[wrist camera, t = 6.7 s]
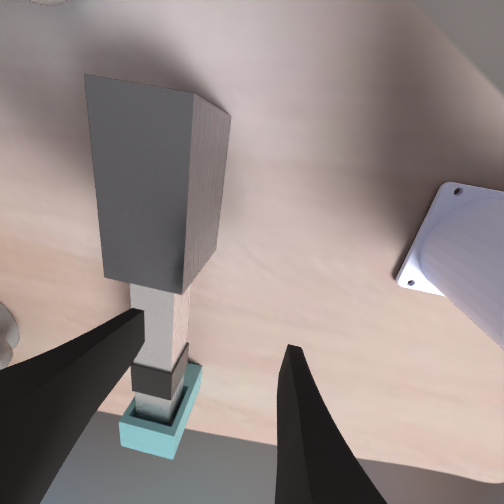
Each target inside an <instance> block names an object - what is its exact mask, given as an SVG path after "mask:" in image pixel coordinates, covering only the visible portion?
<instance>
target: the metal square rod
mask: <svg viewBox="0 0 504 504" xmlns="http://www.w3.org/2000/svg"><path fill="white" fill-rule="evenodd" d="M190 291H191V284H190V285H189V287H188V288H187V289H186V291H185V292H184V293H183V295H179V294H175V293H170V292H166V291H162V290H157V289H153V288H149V287H144V286H140V285H135V284H131V283H130V300H131V308H136V309H140V310H144V320H145V342H144V344H143V346H142V348H141V349H140V351H139V353H138V355H137V356H136V358H135V359H134V361H133V362H132V364H131V380H132V391H135V400H136V418H139V419H142V420H146V421H150V422H154V423H158V424H161V425H165V426H169V427H172V425H173V423H174V420H175V418H176V415H177V413H178V411H179V408H180V406H181V404H182V399H183V386H184V372H185V370H186V368H187V361H188V348H189V343H188V342H187V332H188V318H189V305H190Z"/></svg>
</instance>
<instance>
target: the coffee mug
mask: <svg viewBox="0 0 504 504" xmlns="http://www.w3.org/2000/svg"><path fill="white" fill-rule="evenodd" d="M18 342H19V329H18V326H17V324H16V321H15V320H14V318H13V316H12V315H11V313H10V312H9V311H8V310H7V308H6V307H5V306H4V305H3V304H2V303H1V302H0V370H1V369H4V368H6V367H7V366H8V364H9V363H10V361H11V359H12V356H13V352H12V349H13V348H14V347H15V346H16V345H17V344H18Z"/></svg>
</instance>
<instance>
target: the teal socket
mask: <svg viewBox="0 0 504 504" xmlns="http://www.w3.org/2000/svg"><path fill="white" fill-rule="evenodd" d="M201 373H202V366H200V365H196V364H192V363H188V362H187V368H186V370H185V372H184V386H183V399H182V404H181V406H180V408H179V411H178V413H177V415H176V418H175V420H174V423H173V425H172V427H169V426H165V425H161V424H158V423H154V422H150V421H146V420H142V419H139V418H136V400H135V397H134V398H133V400H132V401H131V403H130V405H129V406H128V408H127V409H126V411H125V413H124V414H123V416H122V417H121V419H120V421H119V428H120V439H121V446H124V447H128V448H131V449H135V450H139V451H142V452H146V453H150V454H154V455H157V456H161V457H164V458H168V459H172V460H173V458H174V455H175V452H176V450H177V447H178V444H179V441H180V439H181V436H182V434H183V431H184V428H185V426H186V423H187V420H188V418H189V415H190V412H191V410H192V407H193V404H194V402H195V399H196V396H197V394H198V391H199V388H200V382H201Z"/></svg>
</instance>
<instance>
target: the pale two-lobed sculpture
mask: <svg viewBox="0 0 504 504" xmlns="http://www.w3.org/2000/svg"><path fill="white" fill-rule="evenodd" d="M30 1H32V2H35V3H38V4H42V5H49V6H53V5H59V4H62V3H64V2H66V1H67V0H30Z"/></svg>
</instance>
